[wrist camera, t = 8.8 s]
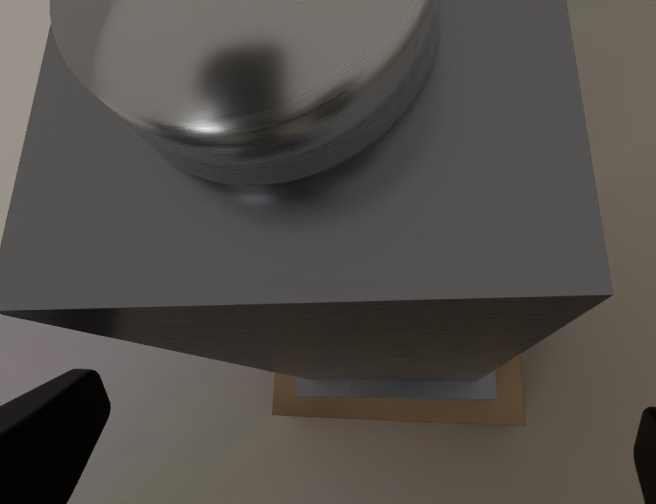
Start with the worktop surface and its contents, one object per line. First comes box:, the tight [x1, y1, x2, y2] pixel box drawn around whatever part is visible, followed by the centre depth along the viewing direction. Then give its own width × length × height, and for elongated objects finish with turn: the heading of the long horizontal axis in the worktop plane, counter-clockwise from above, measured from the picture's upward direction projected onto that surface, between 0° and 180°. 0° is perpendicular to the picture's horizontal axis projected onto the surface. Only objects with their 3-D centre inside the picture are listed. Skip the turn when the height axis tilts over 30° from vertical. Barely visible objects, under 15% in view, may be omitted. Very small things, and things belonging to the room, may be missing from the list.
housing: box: [0, 0, 613, 400], centre depth 10 cm, size 6×6×14 cm
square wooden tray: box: [272, 354, 526, 426], centre depth 17 cm, size 8×8×3 cm
